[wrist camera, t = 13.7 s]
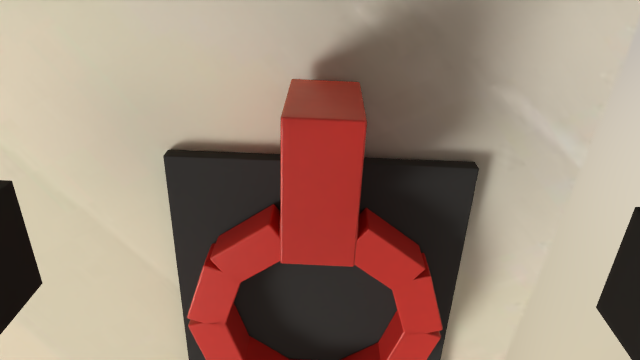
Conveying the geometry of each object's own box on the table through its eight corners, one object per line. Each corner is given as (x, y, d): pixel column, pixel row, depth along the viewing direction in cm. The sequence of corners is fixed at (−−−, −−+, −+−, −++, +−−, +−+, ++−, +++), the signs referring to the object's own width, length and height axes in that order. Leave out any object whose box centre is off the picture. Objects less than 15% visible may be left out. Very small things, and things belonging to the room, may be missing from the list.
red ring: (419, 387, 24) (434, 467, 20) (204, 377, 24) (182, 456, 20) (476, 86, 17) (515, 127, 13) (174, 73, 17) (132, 110, 13)
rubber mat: (475, 161, 19) (479, 168, 18) (427, 405, 25) (429, 415, 25) (167, 149, 19) (162, 155, 18) (197, 396, 25) (194, 406, 25)
